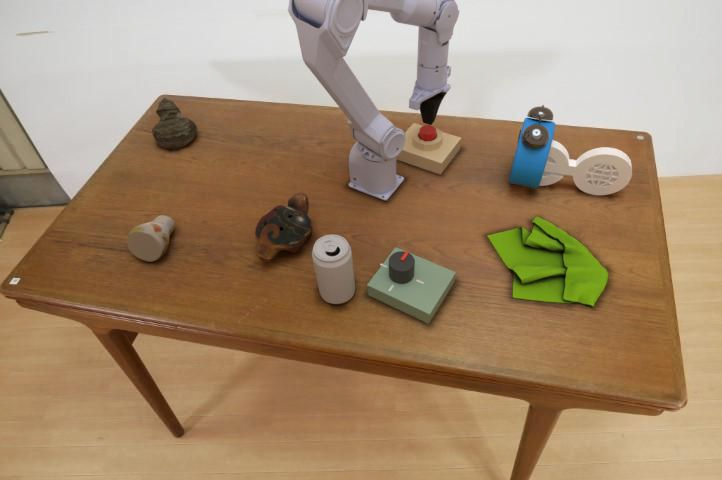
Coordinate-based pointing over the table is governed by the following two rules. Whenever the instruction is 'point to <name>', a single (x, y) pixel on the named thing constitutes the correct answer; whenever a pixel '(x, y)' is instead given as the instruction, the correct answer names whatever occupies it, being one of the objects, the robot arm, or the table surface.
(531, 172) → the alarm clock
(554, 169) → the white double disc plate
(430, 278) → the dial panel
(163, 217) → the beige ceramic vase
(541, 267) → the cloth
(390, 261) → the dial
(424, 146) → the button housing
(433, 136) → the button
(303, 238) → the decorative turtle
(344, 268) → the beverage can
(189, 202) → the table surface
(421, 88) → the robot arm
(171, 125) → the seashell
